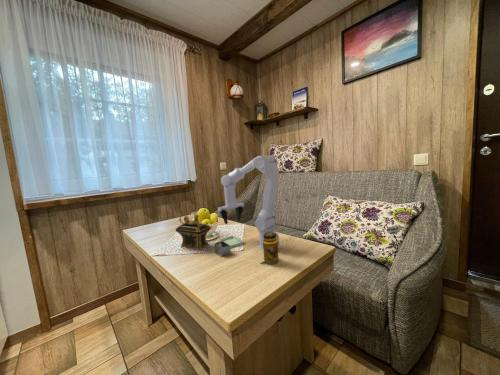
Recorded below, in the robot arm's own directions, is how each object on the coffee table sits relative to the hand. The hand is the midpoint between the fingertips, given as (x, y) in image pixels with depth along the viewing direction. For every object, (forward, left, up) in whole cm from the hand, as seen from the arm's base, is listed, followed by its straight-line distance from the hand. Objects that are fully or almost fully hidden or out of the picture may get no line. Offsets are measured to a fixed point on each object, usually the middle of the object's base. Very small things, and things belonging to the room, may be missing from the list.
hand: (232, 222), depth 116 cm
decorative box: (+8, +21, -10) cm, 24 cm away
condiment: (-32, +1, -10) cm, 34 cm away
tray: (-4, +4, -10) cm, 11 cm away
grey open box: (-12, +13, -9) cm, 20 cm away
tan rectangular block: (-12, +13, -10) cm, 20 cm away
